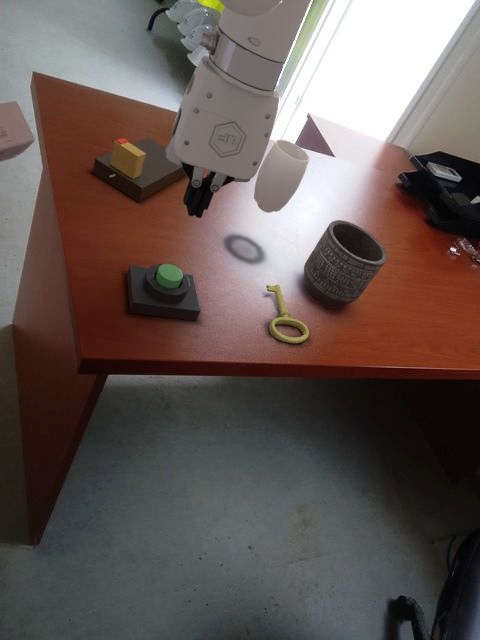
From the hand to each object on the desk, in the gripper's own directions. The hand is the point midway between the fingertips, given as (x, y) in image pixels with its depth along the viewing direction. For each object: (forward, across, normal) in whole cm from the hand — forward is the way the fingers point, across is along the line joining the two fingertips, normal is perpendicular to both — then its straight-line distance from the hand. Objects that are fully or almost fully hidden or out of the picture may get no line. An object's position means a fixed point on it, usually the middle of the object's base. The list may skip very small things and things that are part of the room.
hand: (193, 210), depth 59 cm
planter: (+16, +33, +8) cm, 38 cm away
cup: (+16, +18, +17) cm, 30 cm away
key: (+16, +21, -1) cm, 27 cm away
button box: (+16, 0, 0) cm, 16 cm away
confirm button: (+13, 0, 0) cm, 13 cm away
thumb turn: (+13, -5, +29) cm, 32 cm away
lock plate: (+16, -1, +34) cm, 37 cm away
